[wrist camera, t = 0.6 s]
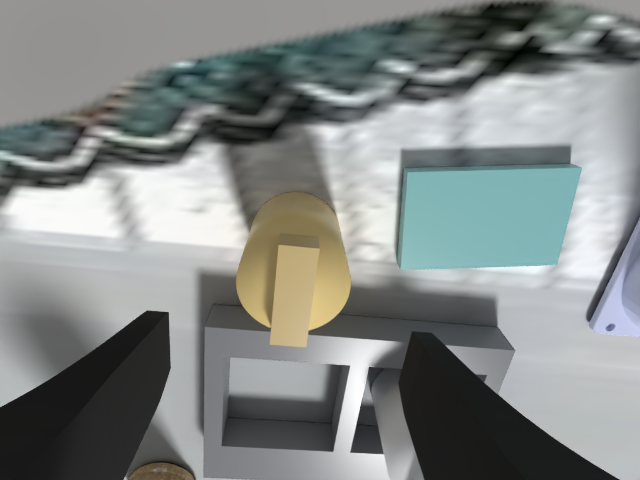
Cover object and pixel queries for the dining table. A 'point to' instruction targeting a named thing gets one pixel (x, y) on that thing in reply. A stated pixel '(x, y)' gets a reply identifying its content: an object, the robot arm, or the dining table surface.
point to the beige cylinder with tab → (293, 267)
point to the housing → (342, 434)
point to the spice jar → (161, 472)
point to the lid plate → (485, 215)
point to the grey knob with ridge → (394, 427)
